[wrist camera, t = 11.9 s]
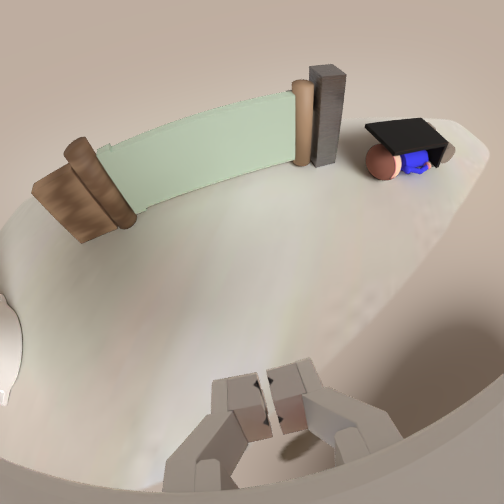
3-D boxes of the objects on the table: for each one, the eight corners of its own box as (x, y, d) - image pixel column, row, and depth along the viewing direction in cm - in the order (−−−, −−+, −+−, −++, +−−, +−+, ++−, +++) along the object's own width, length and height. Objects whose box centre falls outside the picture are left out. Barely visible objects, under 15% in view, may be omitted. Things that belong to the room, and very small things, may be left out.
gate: (137, 220, 34) (93, 155, 24) (136, 206, 36) (95, 142, 25) (313, 163, 36) (317, 87, 25) (305, 152, 37) (307, 78, 26)
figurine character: (417, 149, 39) (351, 161, 36) (433, 114, 32) (365, 117, 29) (442, 177, 36) (379, 195, 33) (463, 142, 29) (400, 151, 26)
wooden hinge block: (81, 247, 34) (20, 186, 22) (82, 231, 36) (26, 169, 23) (137, 224, 35) (84, 148, 22) (136, 208, 36) (88, 132, 24)
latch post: (299, 171, 36) (300, 79, 24) (287, 153, 38) (285, 65, 26) (334, 162, 36) (346, 74, 24) (321, 145, 38) (328, 61, 26)
